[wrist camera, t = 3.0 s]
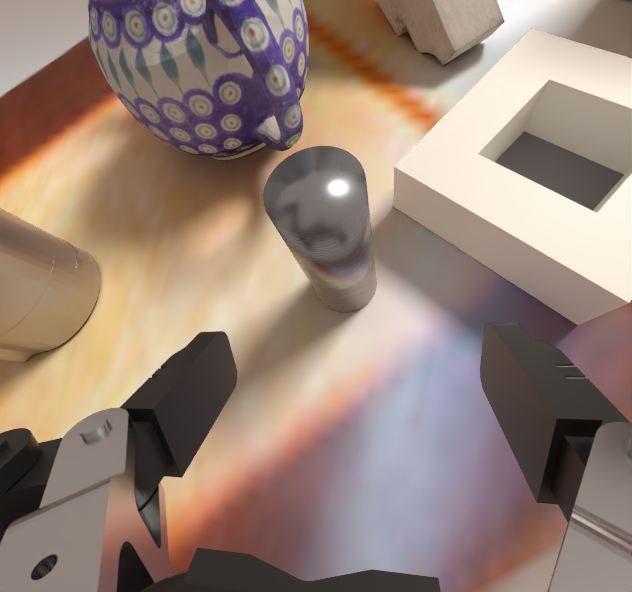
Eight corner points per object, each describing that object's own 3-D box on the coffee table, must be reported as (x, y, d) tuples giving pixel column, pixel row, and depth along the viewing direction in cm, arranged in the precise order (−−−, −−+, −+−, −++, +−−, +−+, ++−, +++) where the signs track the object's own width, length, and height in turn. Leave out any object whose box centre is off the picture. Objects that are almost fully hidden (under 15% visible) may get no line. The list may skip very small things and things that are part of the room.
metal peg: (347, 324, 20) (312, 254, 11) (305, 287, 22) (243, 197, 12) (389, 280, 20) (389, 176, 11) (345, 246, 22) (313, 131, 13)
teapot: (393, 146, 24) (399, -207, 10) (229, 257, 24) (10, 52, 10) (252, 16, 34) (158, -251, 20) (135, 94, 34) (-39, -121, 20)
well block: (577, 325, 17) (628, 302, 13) (393, 206, 22) (394, 166, 18) (712, 166, 18) (793, 106, 15) (508, 88, 23) (531, 28, 20)
